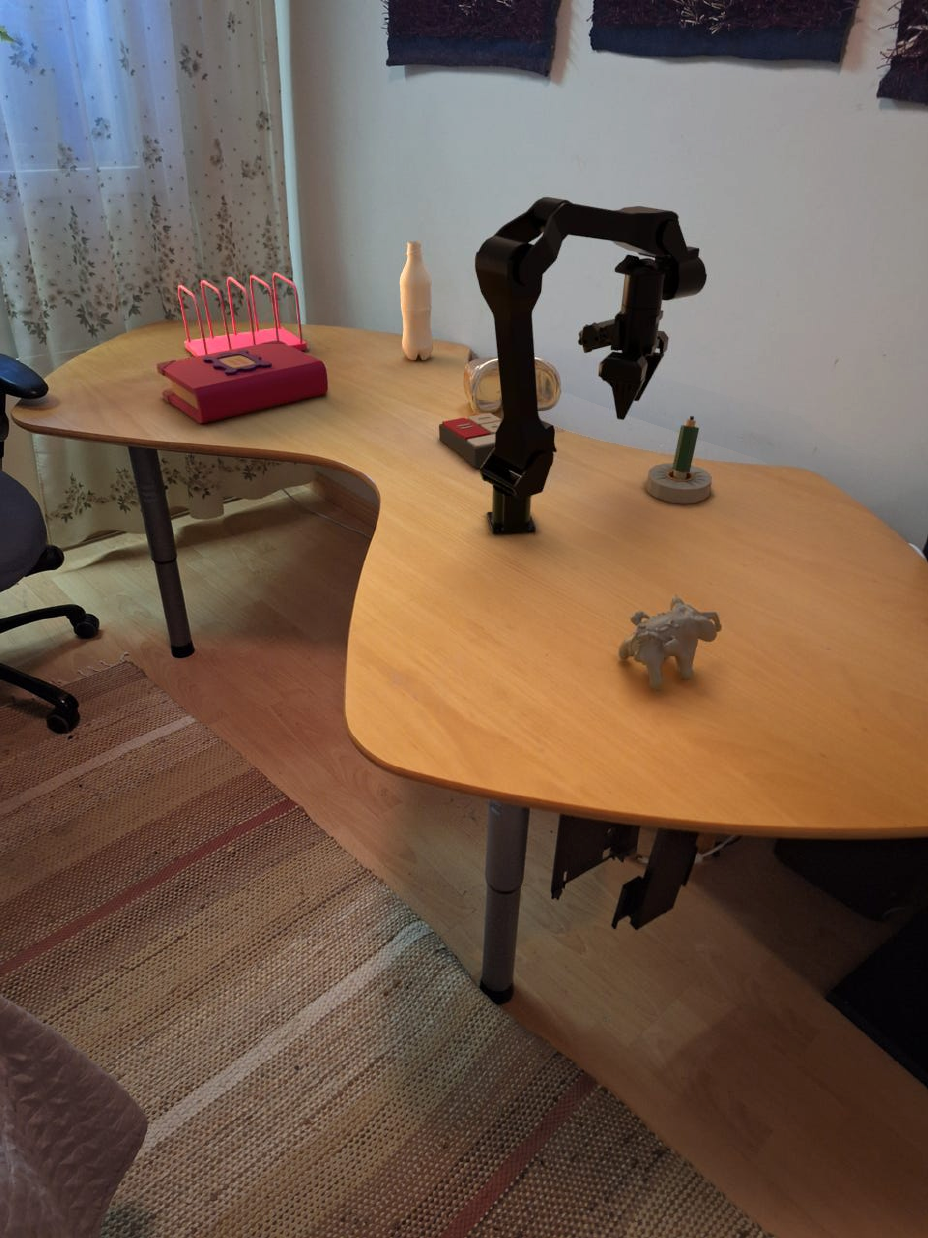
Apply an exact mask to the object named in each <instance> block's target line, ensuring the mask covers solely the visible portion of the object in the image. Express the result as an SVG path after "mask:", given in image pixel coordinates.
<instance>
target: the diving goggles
mask: <svg viewBox="0 0 928 1238" xmlns="http://www.w3.org/2000/svg"><path fill="white" fill-rule="evenodd" d="M535 370H536V386H537V401H538V412H545V411H546V412H547V411H549V410H552V409H553V408H555V407H556V406H557V404H558V403H559V401H560V398H561V395H562V380H561V376H560V373H559V371H558V369H557V368H556V367H555V366H554V365H553V364H552V363H551V362H549V361H548V360H546V359H543V358H541V357H536V356H535ZM463 391H464V395H465V397H466V399H467V400H468V401H469V404H470V408H471V411H472V412H473V413H474V414H475V415H481V414H486V413H491V414H492V415H493V414H494V413H496V412H498V411H500V409H501V408H502V398H501V387H500V377H499V366H498V356H493V357H492V356H491V357H480V358H475V359H472V360H470V361H469V362H468V363H467V364H466V365H465V368H464V371H463Z"/></svg>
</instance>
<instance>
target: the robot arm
mask: <svg viewBox="0 0 928 1238" xmlns="http://www.w3.org/2000/svg"><path fill="white" fill-rule="evenodd" d="M679 219H680V217H679V215H678V213H677V212H675V211H673V210H667V209H662V208H655V207H649V206H644V205H643V206H642V205H636V206H626V207H622V208H620V209H608V208H602V207H596V206H589V205H585V204H580V203H579V204H578V203H573V202H572V201H570V200H567V199H563V198H557V197H551V196H543V197H541V198H539V199H536V200H535V201H534V203H533V204H532V205H530V207H529V208H528V209H527V210H526V211H525V212H523V213H522V214H520V215H518V216H516V217H515V218H513V219H511V220H510V221H509V222H506V223H505V224H503V225H502V226H501V227H500V228H499V229H498V230H497V231H496V232H495V233H494V234H493V235H492V236H490V237H488V238H487V239H485V240H484V241H483V243H482V244H481V246H479V249H478V251H476V253H475V256H474V271H475V274H476V278H477V282H478V286H479V290H480V291H479V292H480V293H481V295H482V297H483V299H484V301H485V302H486V304H487V306H488V308H489V310H490V312H491V313H492V316H493V322H494V323H493V324H494V335H495V345H496V354H497V356H496V357H498V366H499V377H500V387H501V398H502V405H501V408H502V419H501V423H500V425H499V427H498V429H497V431H496V434H495V448H494V449H493V450H492V452H491V453H490V455H489V456H488V458H487V459H486V460H485V462H484V463H483V465H482V466H481V468H479V473H480V477H481V479H482V481H483V482H487V483H488V484H490V485H492V501H491V505H492V507H491V511H487V512H486V517H487V521H488V524H489V527H490V530H491V533H492V535H506V534H522V533H523V534H524V533H535V532H536V531H537V527H536V524H535V522H534V520H533V517H532V515H531V509H532V496H535V495H538V494H541V493H543V492H544V489H545V485H546V483H547V480H548V476H549V474H550V470H551V468H552V466H553V463H554V456H555V455H554V453H557V452H558V450H557V447H556V443H555V439H556V438H555V437H556V430H555V426H554V424H551V423H549V422H547V421H545V420H542V419H541V417H540V415H539V411H538V401H537V386H536V370H535V357H536V355H535V341H534V325H533V311H534V309H535V307H536V305H537V303H538V300H539V299H540V297H541V294H542V292H543V291H542V290H543V277H544V274H545V273H546V272H547V270H549V269H550V267H552V266H553V264H554V263H555V262H556V261H557V259H558V257H559V253H560V251H561V248H562V244H563V242H564V240H565V239H566V238H567V237H568V236H575V237H581V238H587V239H588V238H589V239H596V240H602V241H609V242H612V243H613V244H614V245H616V246H618V247H620V248H622V249H624V250H626V251H630V252H634V253H637V254H638V255H639V256H642V257H643V256H644V257H643V258H640V257H639V256H637V255H633V254H629V253H628V254H626V255H625V257H624V258H623V260H622V261H620V262H619V263H617V265H616V266H615V267H614V273H617V274H620V275H624V279H623V286H622V287H623V288H622V296H621V305H620V311H618V312H617V313H616V314H615V316H614V318H611V319H608V320H603V321H600V322H593V323H591V324H585V325H583V327H582V329H581V330H579V332H578V341H577V343H578V345H579V346H582V350H583V353H584V354H588V353H592V352H593V351H594V350H599V349H603V348H607V347H610V351H611V352H610V353H609V354H608V355H606V356H605V357H604V358H603V359H602V360H601V361H600V362H599V365H598V373H597V376H598V377H599V378H600V379H601V380H602V381H603V382H606V384H608V385H609V386H610V387H611V391H612V397H613V402H614V409H615V415H616V419H617V420H621V421H624V420H625V419H626V417H627V415H628V413H629V412H630V409H631V407H632V406H633V403H634V402H639V401H640V400H641V398H642V396H643V394H644V393H645V391H646V389H647V387H648V385H649V383H650V381H651V379H652V378H653V376H654V375H655V373H656V371H657V369H658V367H659V365H660V364H661V362H662V360H663V358H664V357H665V353H666V352H667V350H668V347H669V340H670V338H669V336H668V335H667V333H666V332H665V331H664V330H659V329H660V328H659V326H660V321H661V320H662V319H663V317H664V310H662V306H663V305H662V304H663V301H665V302H666V301H672V300H677V299H682V298H688V297H692V296H696V295H698V294H700V292H701V291H702V290H703V289H704V287H705V285H706V282H707V277H708V274H707V269H706V265H705V263H704V261H703V260H702V259H701V257H699V256H700V250H701V249H700V248H699V247H695V246H690V245H689V246H687V243H686V240H685V236H684V234H683V231H682V227H681V225H680V221H679ZM537 238H538V240H537V241H536V242H535V243H534V244H533V243H531V242H532V241H534V240H536V239H537ZM657 350H659V352H656V351H657ZM620 351H621V352H620Z"/></svg>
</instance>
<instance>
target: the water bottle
mask: <svg viewBox="0 0 928 1238" xmlns="http://www.w3.org/2000/svg"><path fill="white" fill-rule="evenodd" d="M406 244H407V250H406V255H407V260H406V263H405V266H404V268H403V270H402V272H401V275H400V278H399V288H400V289H399V290H400V310H401V314H402V324H403V330H402V331H403V332H402V340H401V343H402V344H401V345H402V352H403V354H404V356H405V358H408V360H410V361H417V358H418V356H419V357H420V359H421V361H427V360H428V359H429V358H430V356H431V355H432V353H433V349H434V339H433V334H432V325H431V321H432V320H431V319H432V318H431V317H432V309H433V305H432V278H431V275H430V273H429V271H428V269H427V267H426V264H425V263H424V260H423V250H422V242H421V241H416V240H414V241H413V240H411V241H407V243H406Z"/></svg>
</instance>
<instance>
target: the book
mask: <svg viewBox="0 0 928 1238" xmlns="http://www.w3.org/2000/svg"><path fill="white" fill-rule="evenodd" d="M155 366H156V371H157V373H158V374H159V375H161V376H162V377H165V378H167V379H168V380H170V381H171V383H172V384H171V387H170V388H167V389H163V390H162V392H161V393H162V398H163V400H164V401H166V402H167V403H168V404H172V405H173V406H175V408H177V409H178V410H180V411H181V412H183V413H184V414H185V415H187V416H189V417H190V418H191V419H192V420H194V421H195V422H197V423H199V425H201V424H205V423H206V424H207V423H211V422H215V421H219V420H223V419H227V418H231V417H235V416H236V417H237V416H240V415H243V414H248V413H252V412H256V411H261V410H264V409H265V410H266V409H269V408H273V407H277V406H281V405H285V404H289V403H293V402H297V401H301V400H306V399H310V398H314V397H318V396H321V395H324V394H326V393H328V391H329V382H328V381H329V380H328V372H327V368H326V365H325V363H324V362H323V360H321V359H319V358H316V357H315V356H313V355H310V354H308V353H307V352H304V351H303V350H302V351H300V350H297V349H295V348H293V347H291V346H289V345H287V344H286V343H284V342H282V341H277V340H276V341H269V342H264V343H261V344H257V345H252V346H247V347H241V348H236V349H231V350H226V351H221V352H216V353H211V354H206V355H201V356H196V357H195V356H190V357H186V358H181V359H171V360H167V361H162V362H159V363H156V364H155Z"/></svg>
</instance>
